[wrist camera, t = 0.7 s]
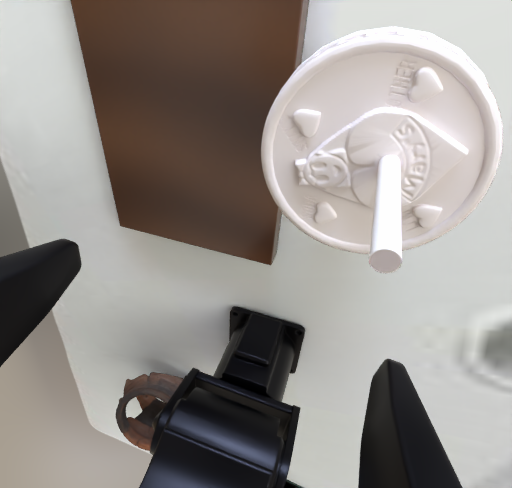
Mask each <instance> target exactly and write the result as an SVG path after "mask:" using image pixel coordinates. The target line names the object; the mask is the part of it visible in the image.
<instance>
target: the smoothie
mask: <svg viewBox="0 0 512 488" xmlns="http://www.w3.org/2000/svg"><path fill="white" fill-rule="evenodd" d="M502 148H503V127H502V119H501V115H500V110H499V107H498V104H497V102H496V99H495V97H494V95H493V93H492V91H491V89H490V87H489V85H488V83H487V80H486V78H485V76H484V73H483V72H482V71H481V70H480V69H479V68H478V67H477V66H476V65H475V64H474V63H473V62H472V61H471V59H470V58H469V57H468V56H467V55H466V54H465V53H464V52H463V51H462V50H461V49H460V48H458V47H456V46H454V45H452V44H450V43H449V42H447V41H445V40H443V39H441V38H439V37H437V36H435V35H433V34H431V33H429V32H424V31H417V30H411V29H405V28H399V27H386V28H378V29H371V30H363V31H357V32H354V33H352V34H350V35H347V36H345V37H343V38H340V39H338V40H336V41H333V42H331V43H329V44H326V45H324V46H323V47H322V48H321V49H319V50H318V51H317V52H316V53H314V54H313V55H312V56H310V57H309V58H308V59H307V60H305V61H304V62H303V63H302V64H300V65H299V66H298V67H297V69H296V70H295V71H294V73H293V74H292V75H291V77H290V78H289V79H288V81H287V82H286V83H285V85H284V86H283V87H282V89H281V90H280V92H279V94H278V96H277V97H276V99H275V101H274V103H273V105H272V107H271V109H270V111H269V114H268V116H267V119H266V122H265V126H264V129H263V135H262V143H261V161H262V168H263V173H264V177H265V180H266V184H267V186H268V189H269V191H270V193H271V195H272V197H273V199H274V201H275V203H276V204H277V206H278V207H279V209H280V210H281V211H282V212H283V214H284V215H285V216H286V217H287V218H288V219H289V220H290V221H291V222H292V223H293V224H294V225H295V226H296V227H297V228H298V229H300V230H301V231H303V232H304V233H305V234H307V235H308V236H310V237H312V238H313V239H315V240H317V241H319V242H321V243H323V244H326V245H328V246H331V247H334V248H337V249H340V250H344V251H349V252H355V253H364V254H369V264H370V266H371V267H372V268H373V269H374V270H375V271H377V272H380V273H392V272H395V271H397V270H398V269H399V268H400V267H401V264H402V251H404V250H408V249H412V248H415V247H418V246H421V245H423V244H426V243H428V242H430V241H433V240H435V239H437V238H439V237H440V236H442V235H444V234H445V233H447V232H449V231H450V230H451V229H453V228H454V227H456V226H457V225H458V224H459V223H461V222H462V221H463V220H464V219H465V218H466V217H467V216H468V215H469V214H470V213H471V212H472V211H473V210H474V209H475V208H476V207H477V205H478V204H479V203H480V202H481V200H482V199H483V197H484V196H485V194H486V193H487V191H488V190H489V188H490V186H491V184H492V182H493V180H494V177H495V175H496V173H497V170H498V167H499V163H500V160H501V154H502Z"/></svg>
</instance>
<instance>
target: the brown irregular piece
mask: <svg viewBox="0 0 512 488" xmlns="http://www.w3.org/2000/svg"><path fill="white" fill-rule="evenodd" d="M182 380H183V378H179V377H176V376H172V375H167V374H162V373H155V372H152V373H150V376H147V375H146V374H143V375H141V376H139V377H137V378H135V379H133V380H130V379H127V380H126V384H125V387H124V396H123V398H120V400H119V404H118V407H117V409H116V419H117V424H118V426H119V429H120V431H121V432H122V433H123V434H124V436H125V437H126V438H127V439H128V440H129V441H130V442H131V443H132V444H134V445H135V446H138V447H139V448H141V449H145V450H149V451H150V445H151V441H152V437H153V434H154V429H153V426H152V424H153V421H154V419H155V417H156V416H157V415H158V414H159V413H160V412H161V411H162V409H163V408H164V407H165V405H166V404H167V402H168V401H169V399H170V398H171V397H172V395H173V394H174V392H175V391H176V389H177V388H178V386H179V385H180V383H181V382H182ZM134 397H137V400H138V401H139V403H140V406H141V408H142V410H143V411H142V413H141V414H139V415H138V416H137V417H136V418H135V419H134V418H132V417H128V418H127V417H126V405H127V403H128V402H129V401H130V400H131V399H132V398H134ZM156 397H157V398H159V399H161V400H162V401H164V402H165V403H164V402H161V401H159V400H158V399H156Z"/></svg>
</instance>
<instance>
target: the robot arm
mask: <svg viewBox="0 0 512 488" xmlns="http://www.w3.org/2000/svg"><path fill="white" fill-rule="evenodd" d="M80 268H81V258H80V253H79V248H78V245H77V244H76V243H75V242H72V241H70V240H67V239H59V240H56V241H52V242H49V243H46V244H42V245H39V246H36V247H33V248H29V249H26V250H23V251H19V252H16V253H13V254H10V255H7V256H3V257H0V367H1V365H2V364H3V363H4V362H5V361H6V360H7V359H8V358H9V356H10V355H11V354H12V353H13V352H14V351H15V350H16V349H17V348H18V347H19V345H20V344H21V343H22V342H23V341H24V340H25V339H26V338H27V337H28V335H29V334H30V333H31V332H32V331H33V330H34V329H35V328H36V326H37V325H38V324H39V323H40V322H41V321H42V320H43V319H44V318H45V316H46V315H47V314H48V313H49V312H50V310H51V309H52V308H53V306H54V305H55V304H56V302H57V301H58V300H59V298H60V297H61V296H62V294H63V293H64V291H65V290H66V289H67V287H68V286H69V285H70V283H71V282H72V280H73V279H74V278H75V276H76V275H77V274H78V272H79V271H80ZM304 334H305V328H304V327H303V326H301V325H298V324H294V323H291V322H287V321H284V320H280V319H277V318H274V317H270V316H267V315H263V314H260V313H256V312H253V311H250V310H246V309H243V308H239V307H233V308H232V309H231V311H230V338H229V343H228V345H227V348H226V350H225V352H224V354H223V356H222V358H221V361H220V363H219V365H218V367H217V369H216V371H215V374H214V376H211V375H208V374H205V373H203V372H200V370H198V369H195V368H192V370H191V371H190V373H189V374H188V375H186V376H185V378H184V379H183V380H182V382H181V383H180V385H179V386H178V388H177V389H176V391H175V392H174V394H173V395H172V397H171V398H170V399H169V401H168V402H167V404H166V405H165V407H164V408H163V409H162V411H161V412H160V413H159V414H158V415H157V416H156V417H155V419H154V421H153V424H152V426H153V429H154V434H153V437H152V441H151V445H150V453H151V454H152V455H153V457H152V459H151V462H150V464H149V467H148V469H147V472H146V474H145V476H144V478H143V481H142V483H141V485H140V487H139V488H284V486H285V483H286V479H287V475H288V471H289V466H290V462H291V457H292V452H293V446H294V441H295V435H296V430H297V424H298V419H299V413H300V407H297V406H295V405H293V406H291V405H288V404H286V403H283V402H282V399H283V395H284V392H285V388H286V384H287V381H288V377H289V373H295V371H296V367H297V363H298V359H299V355H300V351H301V346H302V342H303V338H304ZM358 488H462V486H461V484H460V482H459V480H458V477H457V475H456V473H455V471H454V469H453V467H452V465H451V463H450V461H449V459H448V457H447V454H446V452H445V450H444V448H443V446H442V444H441V442H440V440H439V438H438V436H437V433H436V431H435V429H434V427H433V425H432V423H431V421H430V419H429V417H428V415H427V413H426V410H425V408H424V406H423V404H422V402H421V400H420V398H419V396H418V394H417V392H416V390H415V387H414V385H413V383H412V381H411V379H410V377H409V375H408V373H407V371H406V369H405V367H404V365H403V364H401V363H399V362H396V361H394V360H391V359H386V360H385V361H384V362H383V363H382V365H381V366H380V367H379V369H378V370H377V372H376V373H375V374H374V376H373V378H372V382H371V387H370V392H369V398H368V404H367V410H366V415H365V421H364V427H363V433H362V439H361V450H360V468H359V486H358Z"/></svg>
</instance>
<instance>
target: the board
mask: <svg viewBox="0 0 512 488" xmlns="http://www.w3.org/2000/svg"><path fill="white" fill-rule="evenodd" d="M71 4H72V9H73V13H74V18H75V22H76V27H77V32H78V36H79V41H80V45H81V50H82V54H83V59H84V63H85V68H86V72H87V77H88V82H89V86H90V91H91V95H92V100H93V104H94V109H95V113H96V118H97V122H98V127H99V132H100V136H101V141H102V145H103V150H104V154H105V159H106V163H107V168H108V173H109V177H110V182H111V186H112V191H113V195H114V200H115V204H116V209H117V213H118V218H119V223H120V226H122V227H126V228H130V229H134V230H137V231H141V232H145V233H149V234H153V235H157V236H161V237H164V238H168V239H172V240H176V241H180V242H184V243H187V244H191V245H195V246H199V247H203V248H207V249H210V250H214V251H218V252H222V253H226V254H230V255H233V256H237V257H241V258H245V259H249V260H253V261H257V262H260V263H264V264H268V265H271V264H272V262H273V260H274V257H275V255H276V253H277V246H278V238H279V230H280V223H281V215H282V211H281V210H280V209H279V207H278V206H277V204H276V203H275V201H274V199H273V197H272V195H271V193H270V191H269V189H268V186H267V184H266V180H265V177H264V173H263V168H262V161H261V143H262V135H263V129H264V126H265V122H266V119H267V116H268V114H269V111H270V109H271V107H272V105H273V103H274V101H275V99H276V97H277V96H278V94H279V92H280V90H281V89H282V87H283V86H284V85H285V83H286V82H287V81H288V79H289V78H290V77H291V75H292V74H293V73H294V71H295V70H296V69H297V67H298V66H299V65H300V64H301V60H302V52H303V45H304V37H305V29H306V22H307V14H308V6H309V0H71Z"/></svg>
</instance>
